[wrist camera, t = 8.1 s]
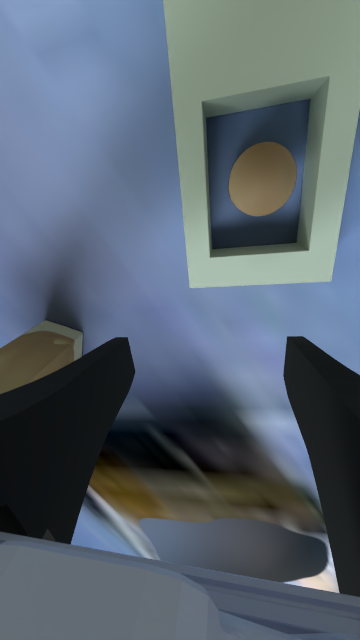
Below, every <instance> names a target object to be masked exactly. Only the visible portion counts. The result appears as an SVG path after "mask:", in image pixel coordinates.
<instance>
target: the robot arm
mask: <svg viewBox="0 0 360 640" xmlns="http://www.w3.org/2000/svg"><path fill="white" fill-rule="evenodd" d="M134 375H135V368H134V363H133V359H132V354H131V350H130V346H129V341H128V337H116V338H114V339H111V340H109V341H108V342H106V343H104V344H102V345H101V346H99V347H97V348H96V349H94V350H92V351H91V352H89V353H87V354H86V355H84V356H82V357H80V358H79V359H77V360H75V361H73V362H71V363H70V364H68V365H66V366H64V367H62V368H61V369H59V370H57V371H55V372H53V373H51V374H48V375H46V376H44V377H42V378H40V379H38V380H35V381H33V382H31V383H28V384H25V385H23V386H20V387H18V388H15V389H13V390H10V391H7V392H5V393H2V394H0V640H360V375H358V374H357V373H355V372H354V371H352V370H350V369H349V368H347V367H346V366H344V365H343V364H341V363H340V362H338V361H337V360H335V359H334V358H332V357H331V356H330V355H328V354H327V353H325V352H324V351H323V350H321V349H320V348H319V347H317V346H316V345H314V344H313V343H312V342H310V341H309V340H307V339H306V338H304V337H303V336H297V337H287V344H286V354H285V364H284V375H283V376H284V381H285V386H286V390H287V395H288V398H289V401H290V404H291V407H292V409H293V412H294V415H295V418H296V420H297V423H298V426H299V429H300V431H301V434H302V437H303V440H304V442H305V445H306V448H307V451H308V455H309V458H310V462H311V466H312V470H313V474H314V478H315V482H316V486H317V490H318V494H319V498H320V503H321V507H322V511H323V515H324V520H325V525H326V529H327V534H328V538H329V543H330V548H331V552H332V557H333V562H334V567H335V572H336V577H337V582H338V587H339V592H340V593H335V592H329V591H324V590H318V589H313V588H307V587H302V586H296V585H290V584H285V583H279V582H274V581H268V580H263V579H257V578H252V577H246V576H241V575H235V574H230V573H224V572H219V571H213V570H208V569H202V568H197V567H191V566H186V565H180V564H175V563H169V562H164V561H158V560H153V559H147V558H142V557H136V556H131V555H125V554H120V553H114V552H109V551H103V550H98V549H92V548H87V547H81V546H76V545H70V544H71V541H72V537H73V534H74V530H75V527H76V523H77V520H78V516H79V513H80V510H81V506H82V503H83V500H84V497H85V494H86V491H87V488H88V485H89V482H90V479H91V476H92V473H93V470H94V467H95V465H96V462H97V459H98V456H99V454H100V451H101V449H102V446H103V443H104V441H105V438H106V436H107V434H108V432H109V430H110V428H111V426H112V424H113V422H114V420H115V418H116V416H117V414H118V412H119V410H120V408H121V406H122V404H123V402H124V400H125V398H126V396H127V394H128V392H129V390H130V387H131V384H132V381H133V378H134Z"/></svg>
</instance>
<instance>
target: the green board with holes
mask: <svg viewBox="0 0 360 640" xmlns="http://www.w3.org/2000/svg"><path fill="white" fill-rule="evenodd" d="M163 3H164V14H165V25H166V36H167V47H168V57H169V68H170V79H171V90H172V101H173V111H174V122H175V133H176V144H177V155H178V165H179V176H180V187H181V198H182V209H183V220H184V230H185V241H186V252H187V263H188V274H189V284H190V288H200V287H221V286H242V285H264V284H285V283H306V282H328V281H331V279H332V273H333V267H334V261H335V255H336V249H337V243H338V237H339V231H340V225H341V219H342V213H343V207H344V201H345V195H346V189H347V183H348V177H349V171H350V165H351V159H352V153H353V147H354V141H355V134H356V128H357V122H358V116H359V110H360V0H163ZM306 99H310V110H309V120H308V131H307V141H306V151H305V162H304V172H303V183H302V193H301V203H300V214H299V224H298V234H297V243H286V244H274V245H261V246H248V247H235V248H222V249H212V235H211V214H210V193H209V172H208V151H207V130H206V118H209V117H214V116H219V115H225V114H230V113H236V112H241V111H247V110H252V109H257V108H263V107H268V106H274V105H279V104H285V103H290V102H296V101H301V100H306Z"/></svg>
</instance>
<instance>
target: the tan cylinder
mask: <svg viewBox="0 0 360 640" xmlns="http://www.w3.org/2000/svg"><path fill="white" fill-rule="evenodd" d="M296 178H297V169H296V164H295V160H294V158H293V156H292V154H291V153H290V152H289V151H288V150H287V149H286V148H285V147H284V146H282V145H280V144H278V143H275V142H261V143H258V144H255V145H253V146H251V147H249V148H248V149H247V150H245V151H244V152H243V153H242V154H241V155H240V156H239V157H238V159H237V160H236V162H235V164H234V166H233V168H232V170H231V174H230V179H229V195H230V198H231V200H232V202H233V203H234V205H235V206H236V207H237V208H238V209H240V210H241V211H242V212H244V213H246V214H248V215H252V216H264V215H268V214H270V213H273V212H274V211H276V210H278V209H279V208H280V207H282V206H283V205H284V204H285V202H286V201H287V200H288V199H289V197H290V196H291V194H292V192H293V189H294V187H295V183H296Z"/></svg>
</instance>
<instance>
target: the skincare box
mask: <svg viewBox="0 0 360 640" xmlns="http://www.w3.org/2000/svg"><path fill="white" fill-rule="evenodd" d="M82 343H83V333H82V332H80V331H77V330H74V329H71V328H68V327H65V326H62V325H59V324H56V323H53V322H50V321H46V320H45V321H43V322H41V323H40V324H38V325H37V326H35V327H33V328H32V329H30V330H29V331H27V332H26V333H24V334H22V335H21V336H19V337H18V338H16V339H14V340H13V341H11V342H10V343H8V344H7V345H5V346H3V347H2V348H0V394H2V393H5V392H7V391H10V390H13V389H15V388H18V387H20V386H23V385H25V384H28V383H31V382H33V381H35V380H38V379H40V378H42V377H44V376H46V375H48V374H51V373H53V372H55V371H57V370H59V369H61V368H62V367H64V366H66V365H68V364H70V363H71V362H73V361H75V360H77V359H79V358H80V357H82Z"/></svg>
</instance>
